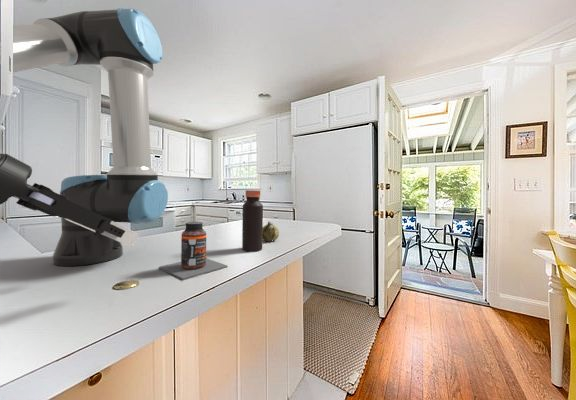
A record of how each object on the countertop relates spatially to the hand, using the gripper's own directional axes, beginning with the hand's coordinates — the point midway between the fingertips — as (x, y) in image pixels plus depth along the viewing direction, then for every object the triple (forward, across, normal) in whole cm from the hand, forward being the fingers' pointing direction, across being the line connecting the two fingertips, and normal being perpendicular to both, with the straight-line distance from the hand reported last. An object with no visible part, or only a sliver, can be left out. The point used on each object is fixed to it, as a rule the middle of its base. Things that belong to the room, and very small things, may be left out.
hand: (116, 233), depth 50 cm
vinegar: (+38, +7, +12) cm, 40 cm away
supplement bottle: (+18, +6, 0) cm, 19 cm away
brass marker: (+6, +4, -8) cm, 11 cm away
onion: (+50, +4, +20) cm, 54 cm away
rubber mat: (+18, +6, 0) cm, 19 cm away
